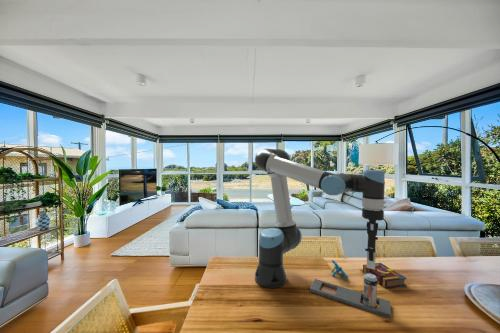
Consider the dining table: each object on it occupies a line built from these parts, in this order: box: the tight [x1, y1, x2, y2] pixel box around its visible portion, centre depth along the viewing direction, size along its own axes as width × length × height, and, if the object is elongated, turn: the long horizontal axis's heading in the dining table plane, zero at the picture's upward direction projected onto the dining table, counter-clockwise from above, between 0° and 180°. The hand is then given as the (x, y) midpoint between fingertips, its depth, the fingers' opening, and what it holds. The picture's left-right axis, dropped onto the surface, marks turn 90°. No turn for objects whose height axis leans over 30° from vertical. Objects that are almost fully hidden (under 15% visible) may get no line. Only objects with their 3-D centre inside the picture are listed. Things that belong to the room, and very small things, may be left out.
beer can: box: [362, 273, 378, 308], centre depth 86 cm, size 5×5×12 cm
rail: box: [309, 278, 392, 319], centre depth 90 cm, size 30×9×2 cm, turn 59°
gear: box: [331, 259, 349, 279], centre depth 108 cm, size 11×6×10 cm
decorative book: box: [362, 262, 408, 289], centre depth 106 cm, size 11×16×5 cm
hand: (371, 261), depth 86 cm, fingers open, 13 cm apart
